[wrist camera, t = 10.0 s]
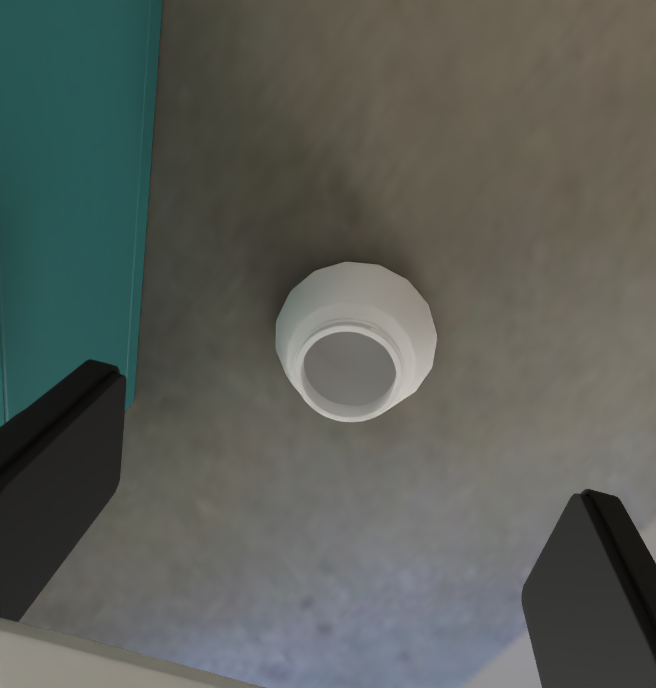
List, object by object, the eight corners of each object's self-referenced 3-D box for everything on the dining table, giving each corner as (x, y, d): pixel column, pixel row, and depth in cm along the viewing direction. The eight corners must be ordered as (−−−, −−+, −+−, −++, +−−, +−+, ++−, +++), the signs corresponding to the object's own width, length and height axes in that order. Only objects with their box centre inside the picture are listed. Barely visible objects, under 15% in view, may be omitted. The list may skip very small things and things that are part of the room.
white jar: (386, 423, 19) (464, 305, 17) (383, 477, 16) (476, 344, 14) (257, 359, 18) (321, 230, 16) (232, 403, 16) (305, 255, 13)
